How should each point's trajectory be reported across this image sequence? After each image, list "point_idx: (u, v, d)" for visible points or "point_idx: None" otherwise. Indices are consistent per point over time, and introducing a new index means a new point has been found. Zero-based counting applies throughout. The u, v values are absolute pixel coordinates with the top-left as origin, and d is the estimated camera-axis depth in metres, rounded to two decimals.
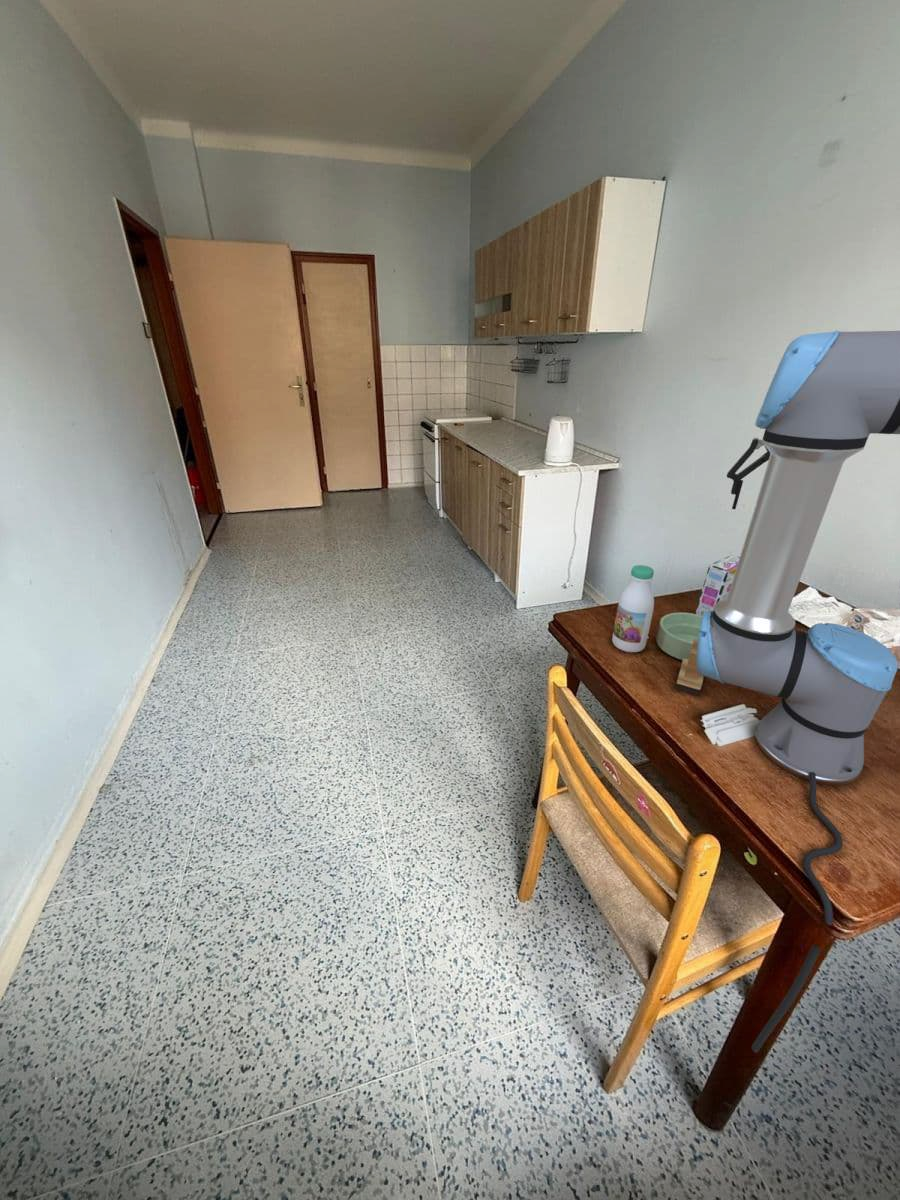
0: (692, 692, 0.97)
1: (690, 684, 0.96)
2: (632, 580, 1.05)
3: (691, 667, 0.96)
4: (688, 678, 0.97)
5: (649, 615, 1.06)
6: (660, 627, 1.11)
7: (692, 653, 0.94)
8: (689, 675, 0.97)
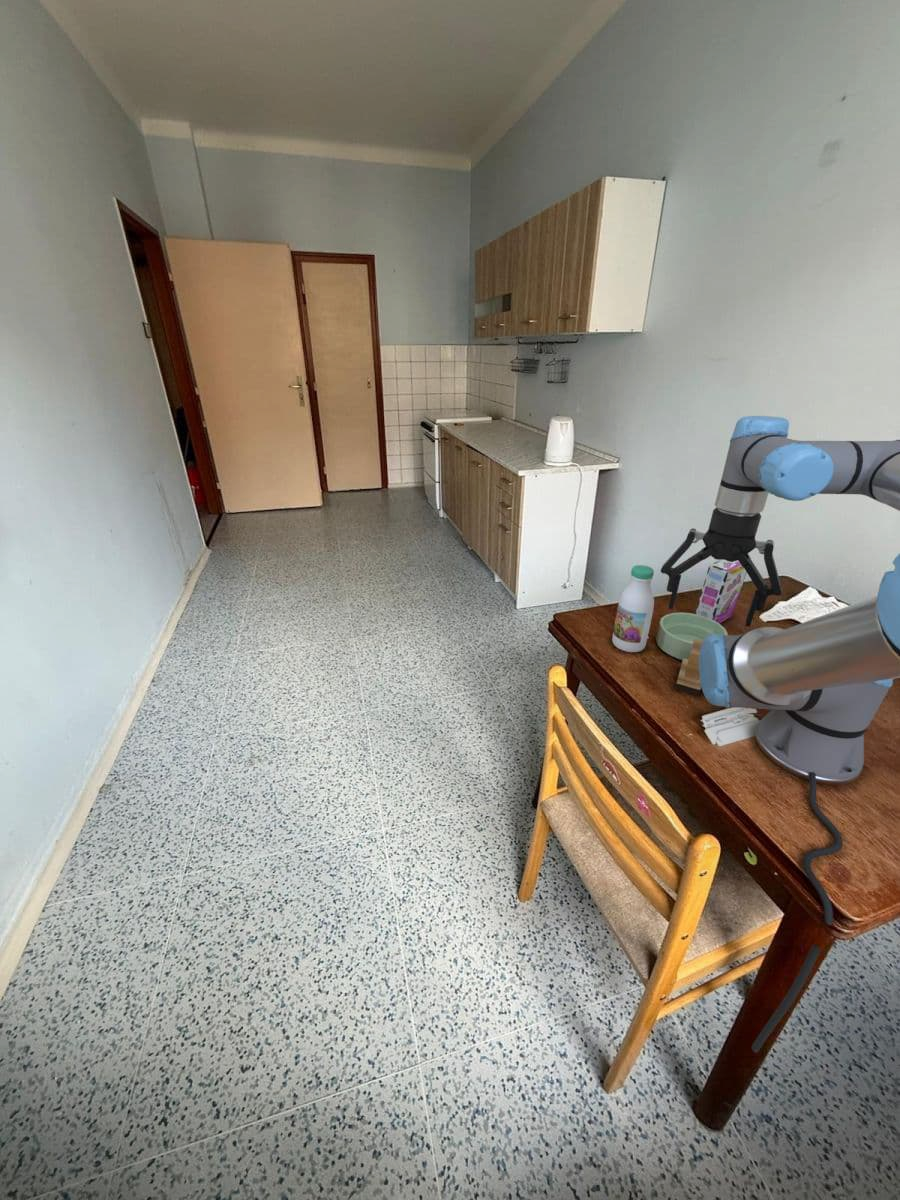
0: (692, 692, 0.97)
1: (690, 684, 0.96)
2: (632, 580, 1.05)
3: (691, 667, 0.96)
4: (688, 678, 0.97)
5: (649, 615, 1.06)
6: (660, 627, 1.11)
7: (692, 653, 0.94)
8: (689, 675, 0.97)
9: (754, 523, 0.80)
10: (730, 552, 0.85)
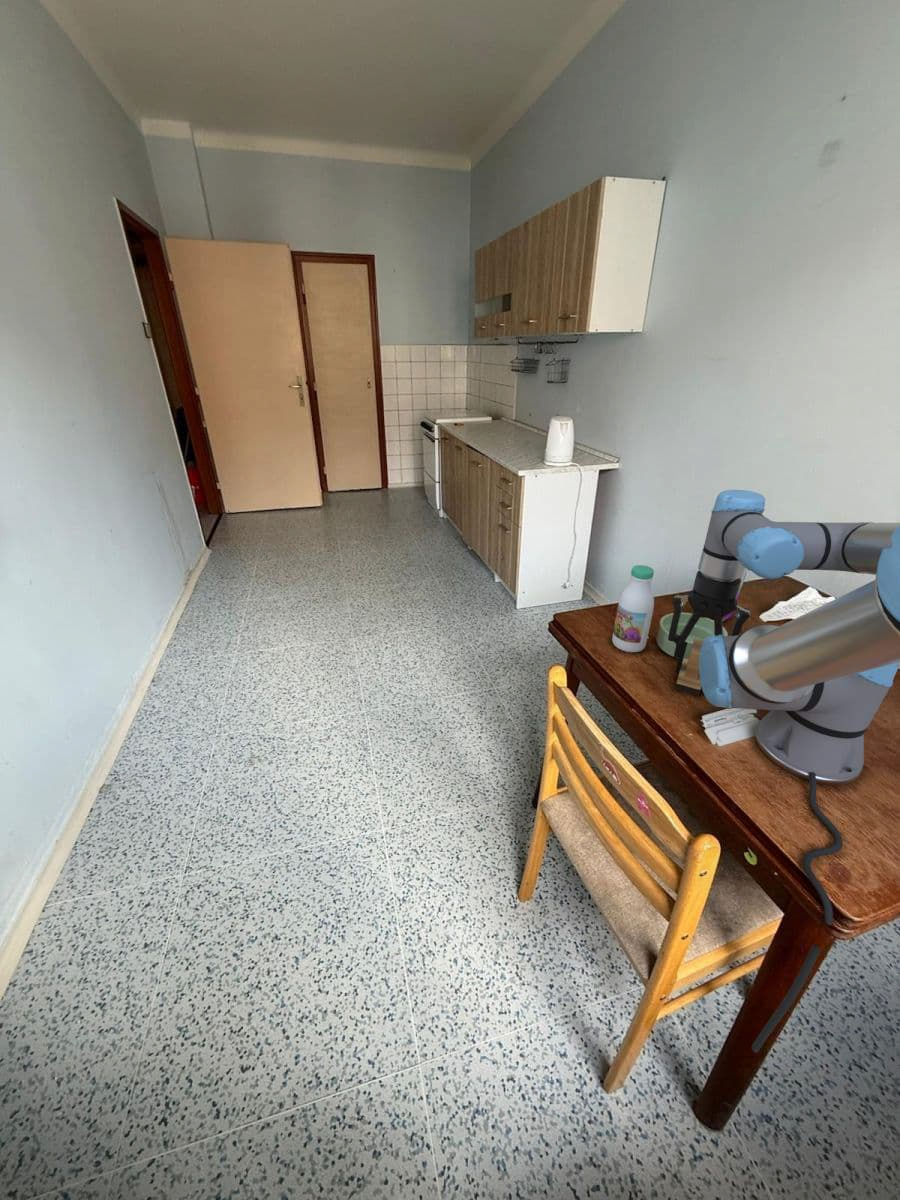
0: (692, 692, 0.97)
1: (690, 684, 0.96)
2: (632, 580, 1.05)
3: (691, 667, 0.96)
4: (688, 678, 0.97)
5: (649, 615, 1.06)
6: (660, 627, 1.11)
7: (692, 653, 0.94)
8: (689, 675, 0.97)
9: (734, 588, 0.86)
10: (713, 611, 0.91)
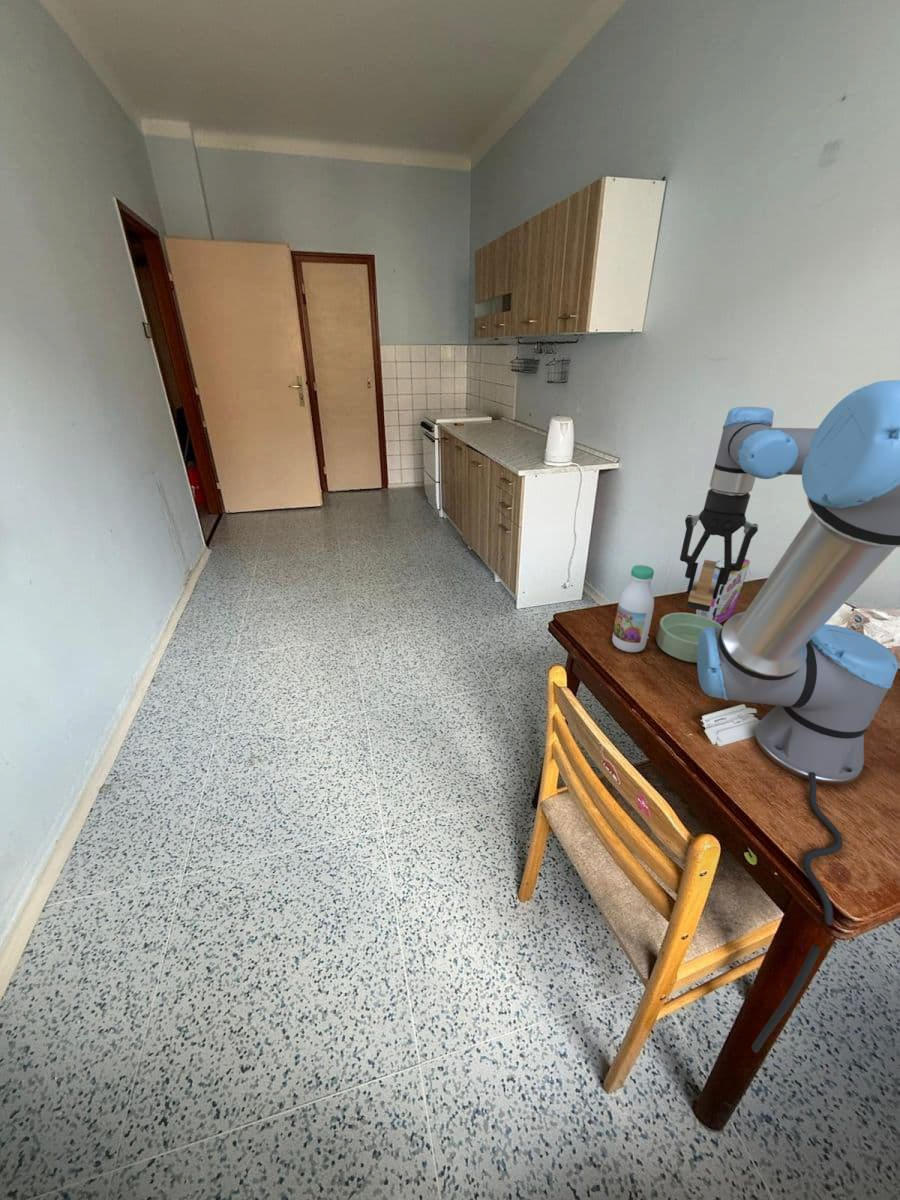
0: (702, 609, 1.03)
1: (701, 601, 1.02)
2: (632, 580, 1.05)
3: (702, 584, 1.01)
4: (699, 595, 1.02)
5: (649, 615, 1.06)
6: (660, 627, 1.11)
7: (703, 570, 1.00)
8: (700, 592, 1.02)
9: (743, 502, 0.92)
10: (723, 528, 0.96)
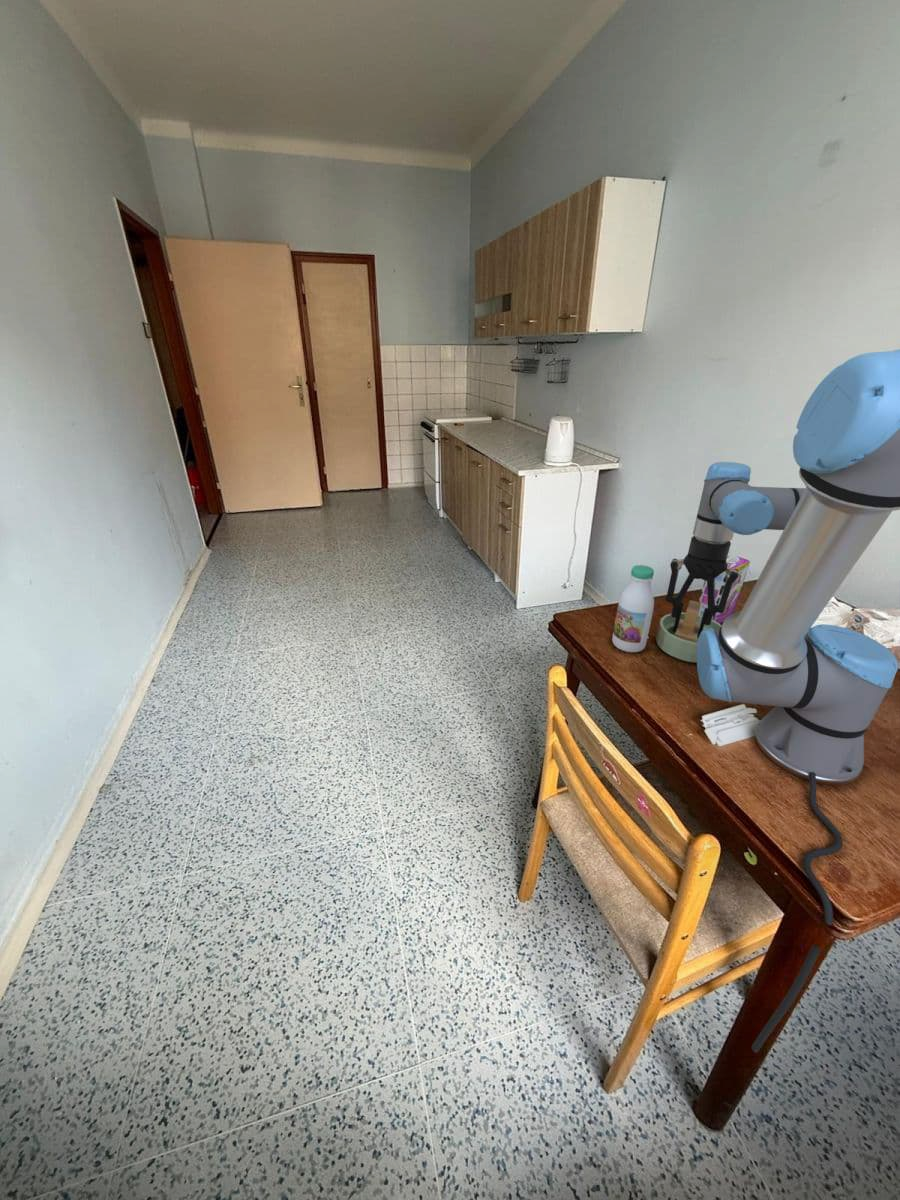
0: None
1: (686, 640, 1.07)
2: (632, 580, 1.05)
3: (687, 624, 1.07)
4: (684, 635, 1.08)
5: (649, 615, 1.06)
6: (660, 627, 1.11)
7: (687, 611, 1.05)
8: (685, 632, 1.08)
9: (724, 550, 0.97)
10: (706, 572, 1.02)
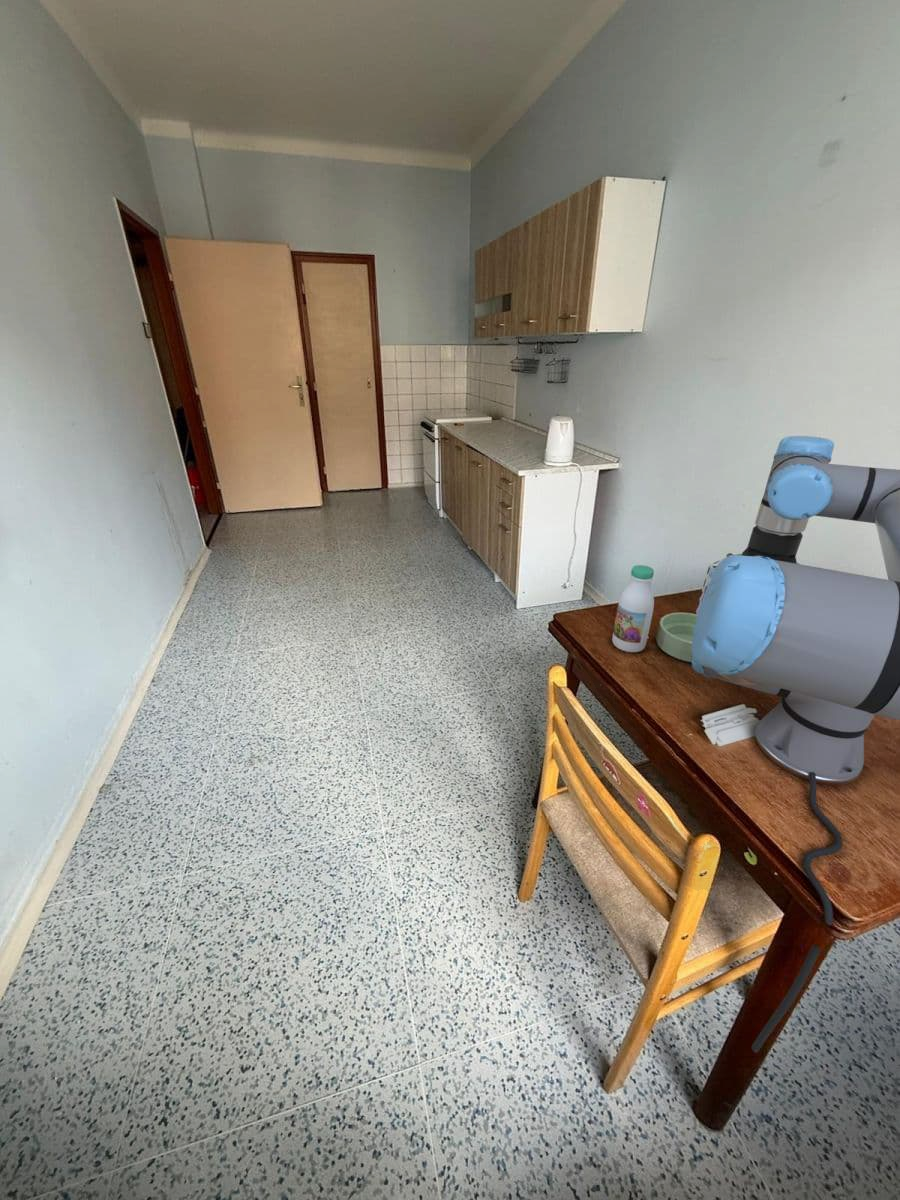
0: None
1: None
2: (632, 580, 1.05)
3: None
4: None
5: (649, 615, 1.06)
6: (660, 627, 1.11)
7: None
8: None
9: (796, 543, 0.81)
10: None
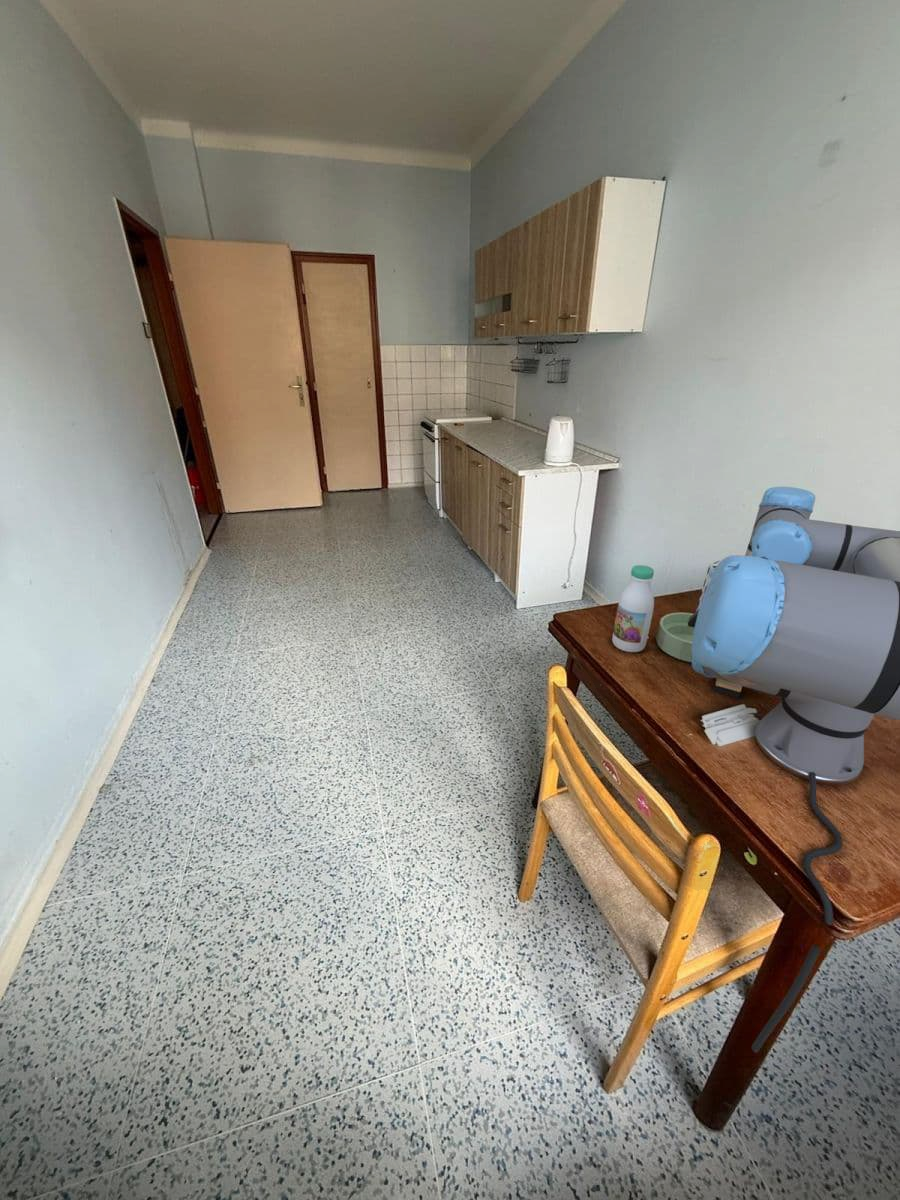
0: (732, 694, 0.96)
1: (730, 686, 0.96)
2: (632, 580, 1.05)
3: None
4: None
5: (649, 615, 1.06)
6: (660, 627, 1.11)
7: None
8: None
9: None
10: None
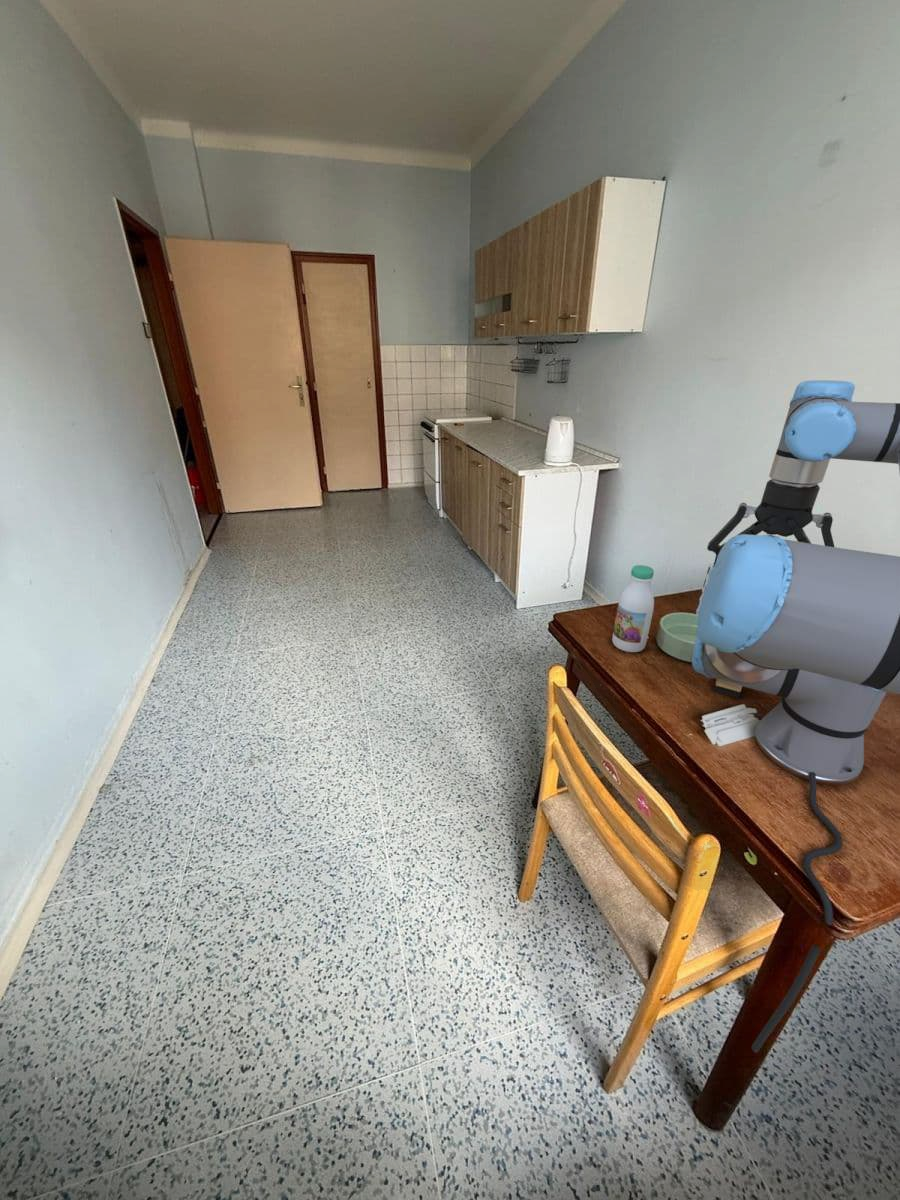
0: (732, 694, 0.96)
1: (730, 686, 0.96)
2: (632, 580, 1.05)
3: None
4: None
5: (649, 615, 1.06)
6: (660, 627, 1.11)
7: None
8: None
9: (813, 495, 0.77)
10: (785, 526, 0.82)
